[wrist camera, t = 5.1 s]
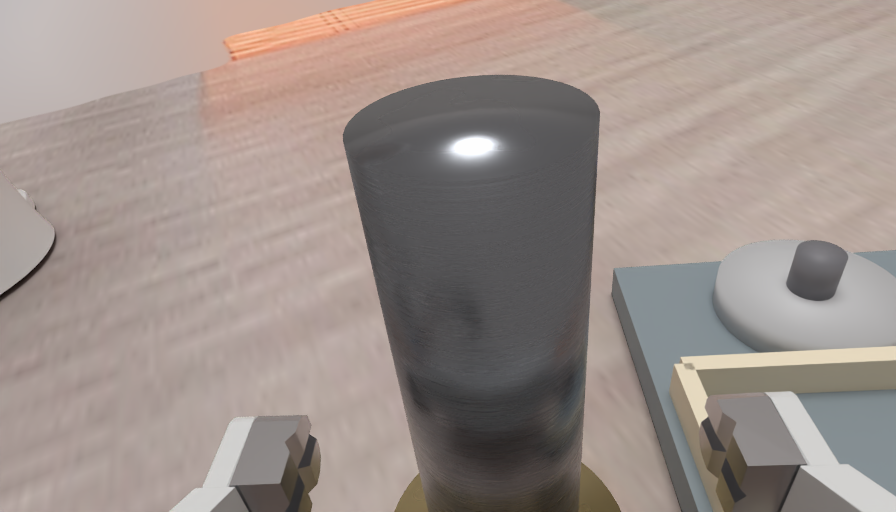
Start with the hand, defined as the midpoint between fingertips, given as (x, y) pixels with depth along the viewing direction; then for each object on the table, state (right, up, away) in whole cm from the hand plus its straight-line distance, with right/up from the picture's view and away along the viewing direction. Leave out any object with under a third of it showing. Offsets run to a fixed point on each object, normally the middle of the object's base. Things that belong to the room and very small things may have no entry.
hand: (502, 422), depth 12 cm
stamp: (+1, -6, +5) cm, 8 cm away
